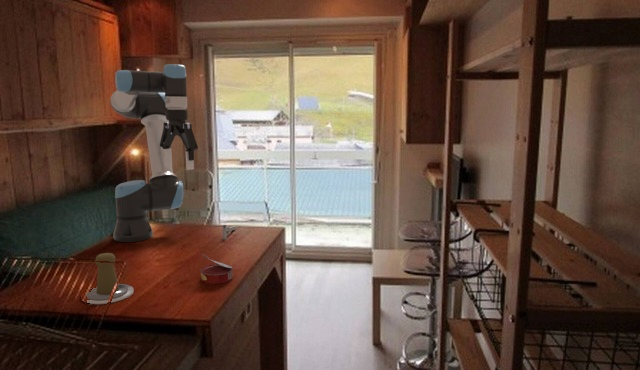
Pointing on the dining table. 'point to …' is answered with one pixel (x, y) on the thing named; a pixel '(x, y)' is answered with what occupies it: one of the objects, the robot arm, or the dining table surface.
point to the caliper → (227, 230)
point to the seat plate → (120, 295)
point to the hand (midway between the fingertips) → (179, 168)
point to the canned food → (216, 273)
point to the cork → (106, 274)
